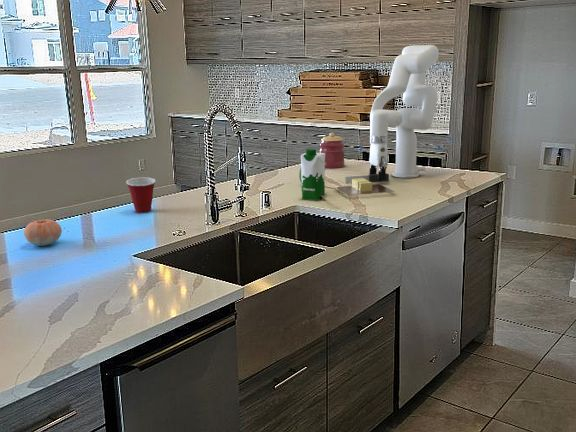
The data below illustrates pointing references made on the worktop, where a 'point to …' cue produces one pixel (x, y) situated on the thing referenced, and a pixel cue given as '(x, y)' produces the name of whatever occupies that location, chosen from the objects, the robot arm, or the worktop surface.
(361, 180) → the butter
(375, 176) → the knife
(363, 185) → the butter slice
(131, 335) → the worktop surface
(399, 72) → the robot arm
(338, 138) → the kitchen canister
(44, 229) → the pumpkin
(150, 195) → the plastic cup
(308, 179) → the milk carton
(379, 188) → the cutting board
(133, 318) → the worktop surface
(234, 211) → the worktop surface
